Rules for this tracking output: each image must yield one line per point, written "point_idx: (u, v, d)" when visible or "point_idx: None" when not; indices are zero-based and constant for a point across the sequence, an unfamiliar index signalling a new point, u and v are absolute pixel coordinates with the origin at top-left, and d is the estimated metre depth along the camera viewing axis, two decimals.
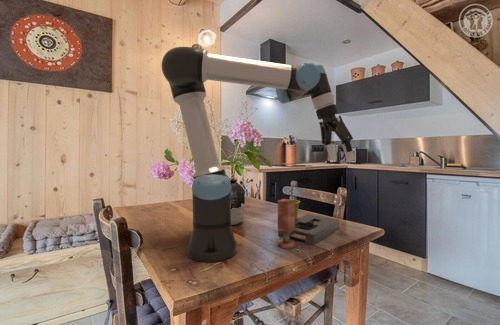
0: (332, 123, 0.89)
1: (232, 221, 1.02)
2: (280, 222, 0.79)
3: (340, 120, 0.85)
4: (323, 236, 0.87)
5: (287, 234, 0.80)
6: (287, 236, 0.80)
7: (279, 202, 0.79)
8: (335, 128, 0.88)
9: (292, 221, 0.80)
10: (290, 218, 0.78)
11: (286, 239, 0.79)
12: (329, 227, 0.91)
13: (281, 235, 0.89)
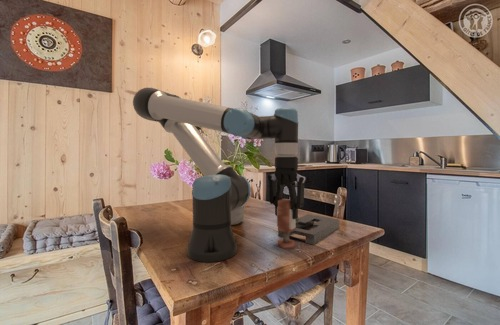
0: (292, 177, 0.77)
1: (232, 221, 1.02)
2: (280, 222, 0.79)
3: (303, 182, 0.76)
4: (323, 236, 0.87)
5: (287, 234, 0.80)
6: (287, 236, 0.80)
7: (279, 202, 0.79)
8: (292, 187, 0.78)
9: None
10: None
11: (286, 239, 0.79)
12: (329, 227, 0.91)
13: (281, 235, 0.89)
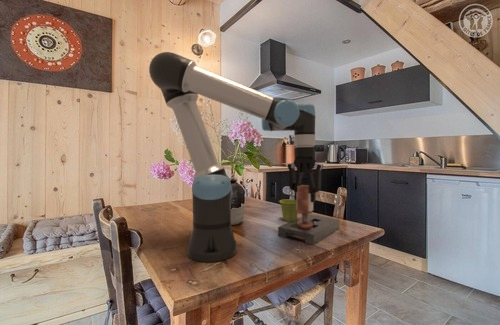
0: (311, 165, 0.87)
1: (232, 221, 1.02)
2: (299, 205, 0.89)
3: (321, 169, 0.86)
4: (323, 236, 0.87)
5: (306, 216, 0.89)
6: (306, 217, 0.89)
7: (298, 187, 0.89)
8: (310, 174, 0.88)
9: None
10: None
11: (305, 220, 0.89)
12: (329, 227, 0.91)
13: (281, 235, 0.89)
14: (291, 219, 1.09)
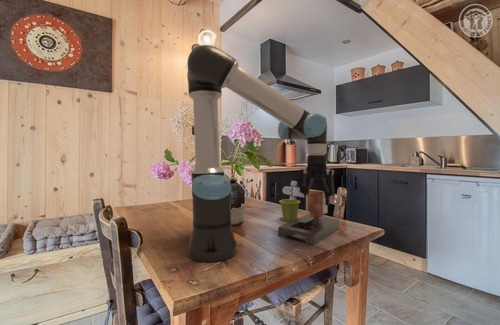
0: (323, 172, 0.95)
1: (232, 221, 1.02)
2: (312, 209, 0.97)
3: (332, 175, 0.94)
4: (323, 236, 0.87)
5: (317, 219, 0.98)
6: (317, 221, 0.98)
7: (311, 193, 0.97)
8: (323, 179, 0.95)
9: (322, 209, 0.98)
10: (320, 206, 0.96)
11: None
12: (329, 227, 0.91)
13: (281, 235, 0.89)
14: (291, 219, 1.09)
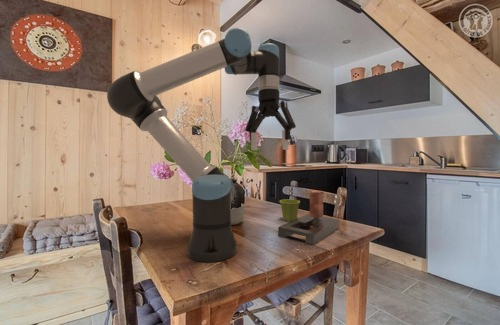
0: (275, 107, 0.84)
1: (232, 221, 1.02)
2: (312, 209, 0.97)
3: (286, 106, 0.83)
4: (323, 236, 0.87)
5: (317, 219, 0.98)
6: (317, 221, 0.98)
7: (311, 193, 0.97)
8: (277, 113, 0.84)
9: (322, 209, 0.98)
10: (320, 206, 0.96)
11: None
12: (329, 227, 0.91)
13: (281, 235, 0.89)
14: (291, 219, 1.09)
